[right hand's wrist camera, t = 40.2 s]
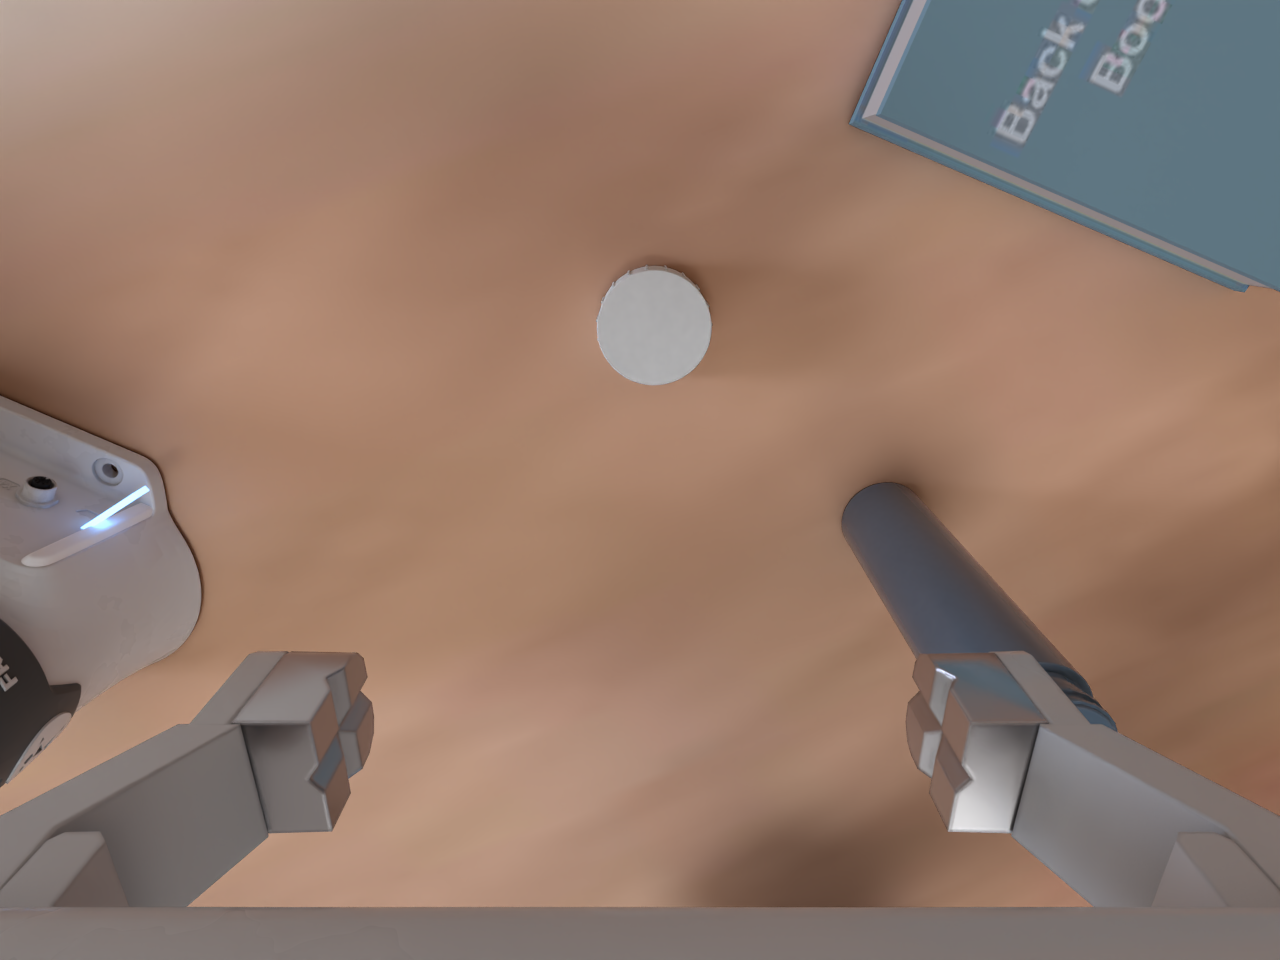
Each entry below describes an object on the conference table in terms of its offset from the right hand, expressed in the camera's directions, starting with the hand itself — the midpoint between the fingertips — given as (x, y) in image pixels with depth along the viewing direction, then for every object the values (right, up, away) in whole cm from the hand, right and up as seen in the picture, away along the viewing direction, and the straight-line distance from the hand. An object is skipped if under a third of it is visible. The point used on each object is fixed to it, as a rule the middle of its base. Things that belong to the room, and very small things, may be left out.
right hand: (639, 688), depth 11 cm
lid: (+1, +11, +27) cm, 29 cm away
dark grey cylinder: (+14, +1, +33) cm, 36 cm away
